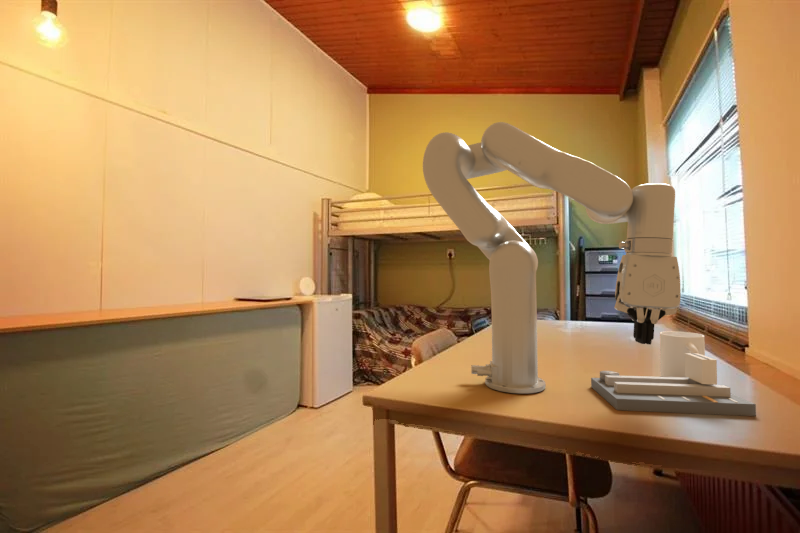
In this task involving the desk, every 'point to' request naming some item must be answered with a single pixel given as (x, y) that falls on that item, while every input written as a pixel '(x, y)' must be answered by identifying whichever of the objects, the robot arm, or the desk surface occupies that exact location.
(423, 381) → the desk surface
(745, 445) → the desk surface
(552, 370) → the desk surface
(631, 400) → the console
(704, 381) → the fader
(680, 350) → the mug
